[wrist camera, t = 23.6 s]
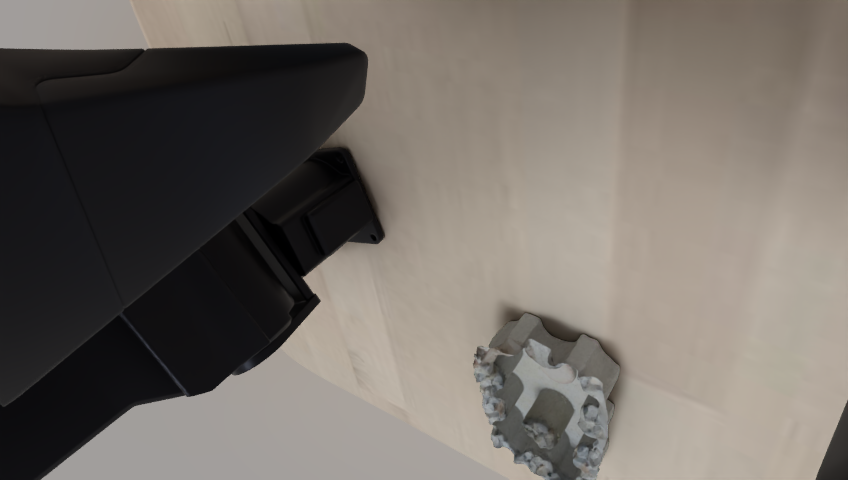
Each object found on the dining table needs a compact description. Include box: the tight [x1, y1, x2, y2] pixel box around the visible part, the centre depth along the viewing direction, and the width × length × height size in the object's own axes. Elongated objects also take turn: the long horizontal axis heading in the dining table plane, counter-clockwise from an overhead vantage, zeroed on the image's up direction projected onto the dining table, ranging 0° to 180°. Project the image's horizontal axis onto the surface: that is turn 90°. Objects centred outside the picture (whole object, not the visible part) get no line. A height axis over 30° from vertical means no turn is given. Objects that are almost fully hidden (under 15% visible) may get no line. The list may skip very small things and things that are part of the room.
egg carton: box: [473, 313, 620, 480], centre depth 31 cm, size 11×8×4 cm
